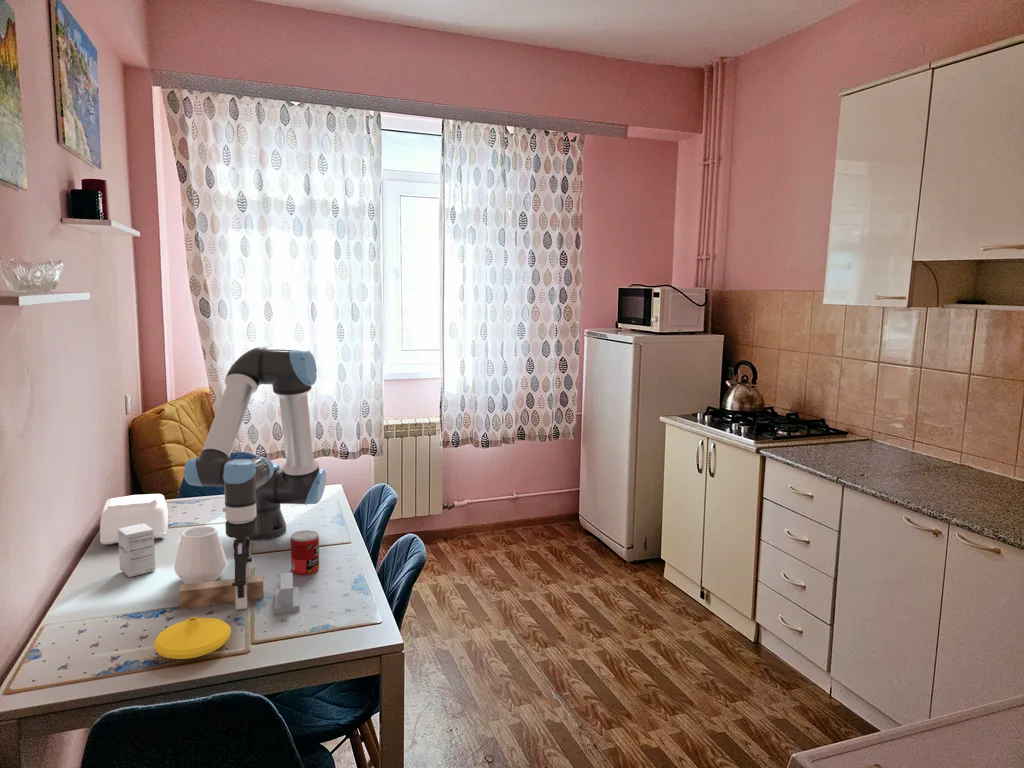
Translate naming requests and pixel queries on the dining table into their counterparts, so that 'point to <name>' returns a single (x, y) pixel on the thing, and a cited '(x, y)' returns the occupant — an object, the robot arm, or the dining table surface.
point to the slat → (217, 592)
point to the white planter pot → (200, 556)
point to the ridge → (286, 595)
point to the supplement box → (136, 549)
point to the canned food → (304, 552)
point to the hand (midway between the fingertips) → (243, 597)
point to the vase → (192, 638)
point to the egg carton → (133, 515)
